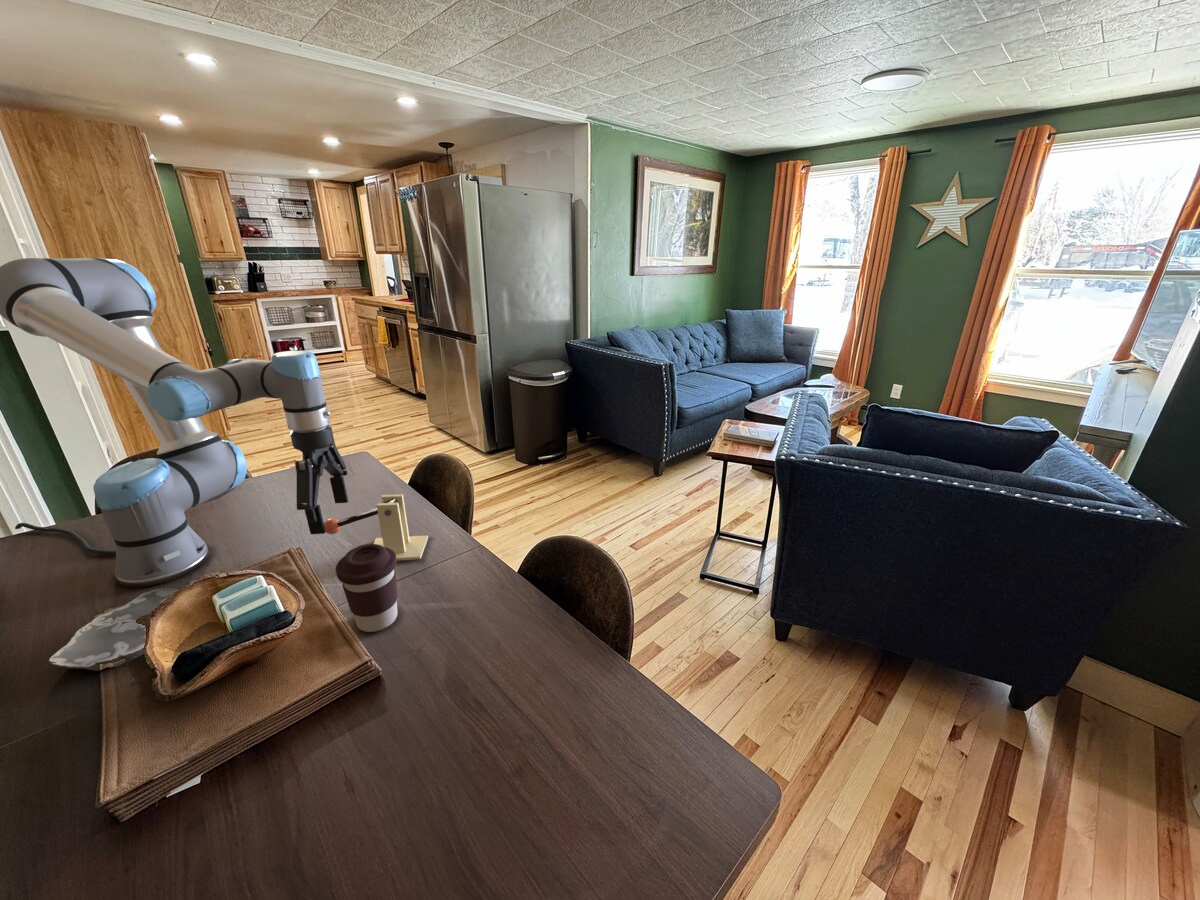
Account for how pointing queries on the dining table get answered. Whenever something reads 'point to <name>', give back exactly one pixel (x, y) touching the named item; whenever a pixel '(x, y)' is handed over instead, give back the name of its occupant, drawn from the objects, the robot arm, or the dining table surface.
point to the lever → (350, 519)
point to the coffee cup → (370, 585)
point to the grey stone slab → (111, 635)
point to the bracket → (398, 530)
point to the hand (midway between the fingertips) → (330, 517)
